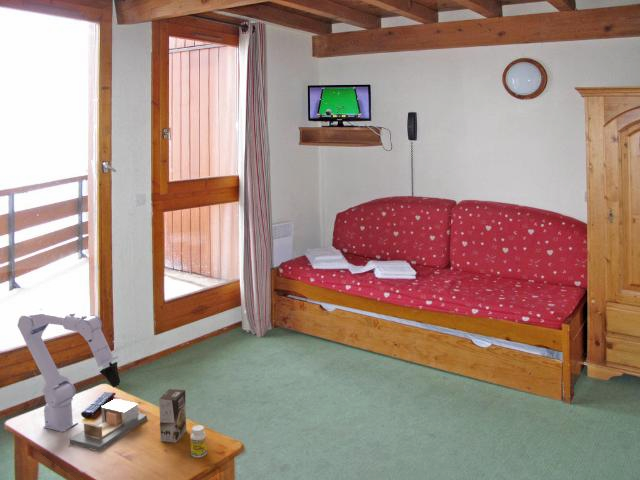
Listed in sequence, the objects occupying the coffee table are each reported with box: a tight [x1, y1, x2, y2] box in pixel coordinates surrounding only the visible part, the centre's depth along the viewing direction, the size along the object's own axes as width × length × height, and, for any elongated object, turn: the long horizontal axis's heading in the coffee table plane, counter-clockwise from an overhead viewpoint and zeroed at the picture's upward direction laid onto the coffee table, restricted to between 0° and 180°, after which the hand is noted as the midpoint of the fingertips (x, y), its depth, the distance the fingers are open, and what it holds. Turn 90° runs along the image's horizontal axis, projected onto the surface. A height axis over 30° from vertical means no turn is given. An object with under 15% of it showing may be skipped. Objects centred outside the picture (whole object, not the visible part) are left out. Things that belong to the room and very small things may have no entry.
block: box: [106, 411, 122, 425], centre depth 240 cm, size 4×5×4 cm
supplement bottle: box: [189, 424, 208, 458], centre depth 221 cm, size 5×5×10 cm
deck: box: [69, 412, 148, 452], centre depth 237 cm, size 13×26×2 cm, turn 158°
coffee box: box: [158, 388, 187, 443], centre depth 233 cm, size 9×6×16 cm
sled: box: [83, 420, 122, 439], centre depth 236 cm, size 7×16×4 cm, turn 158°
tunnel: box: [101, 398, 139, 427], centre depth 242 cm, size 10×8×6 cm
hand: (116, 384), depth 227 cm, fingers open, 7 cm apart
